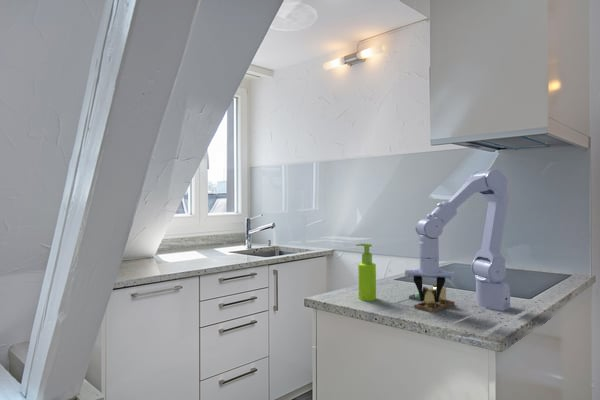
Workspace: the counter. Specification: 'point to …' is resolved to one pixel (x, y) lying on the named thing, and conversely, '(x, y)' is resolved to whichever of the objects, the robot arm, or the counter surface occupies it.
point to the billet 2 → (441, 295)
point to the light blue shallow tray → (405, 300)
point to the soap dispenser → (367, 275)
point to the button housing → (414, 297)
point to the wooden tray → (437, 308)
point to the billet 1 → (429, 297)
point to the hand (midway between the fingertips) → (429, 300)
